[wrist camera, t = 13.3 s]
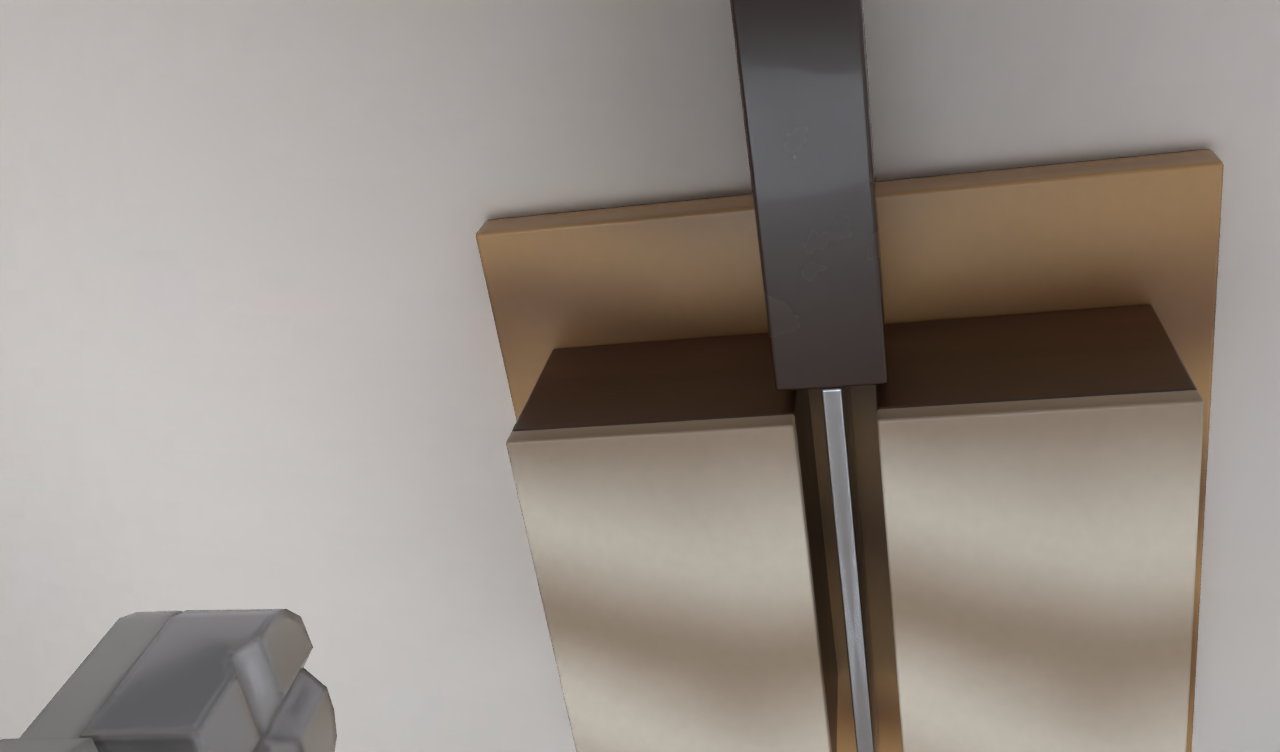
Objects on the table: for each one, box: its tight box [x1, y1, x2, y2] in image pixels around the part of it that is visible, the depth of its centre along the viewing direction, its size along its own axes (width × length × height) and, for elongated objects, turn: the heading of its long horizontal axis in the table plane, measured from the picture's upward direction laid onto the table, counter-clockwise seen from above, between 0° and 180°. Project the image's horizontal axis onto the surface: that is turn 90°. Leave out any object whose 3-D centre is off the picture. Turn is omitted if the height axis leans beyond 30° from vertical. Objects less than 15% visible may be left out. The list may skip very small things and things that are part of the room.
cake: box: [476, 149, 1223, 752], centre depth 28 cm, size 16×16×6 cm
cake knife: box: [730, 0, 888, 752], centre depth 27 cm, size 20×2×4 cm, turn 9°
